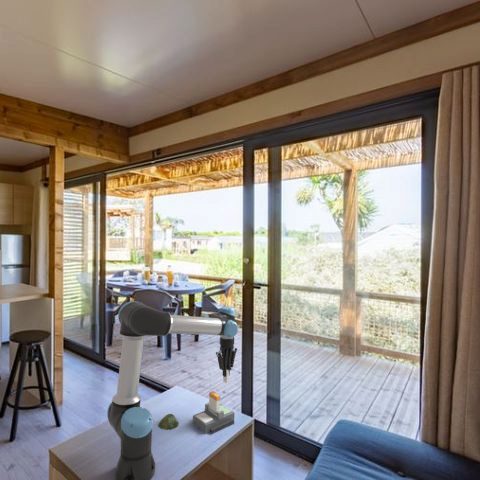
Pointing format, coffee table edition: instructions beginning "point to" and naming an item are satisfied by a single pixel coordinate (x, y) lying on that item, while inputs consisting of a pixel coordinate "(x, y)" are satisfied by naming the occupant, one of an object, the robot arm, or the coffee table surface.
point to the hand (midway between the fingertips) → (226, 381)
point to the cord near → (221, 426)
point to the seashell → (168, 422)
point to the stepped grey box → (212, 418)
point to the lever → (214, 402)
